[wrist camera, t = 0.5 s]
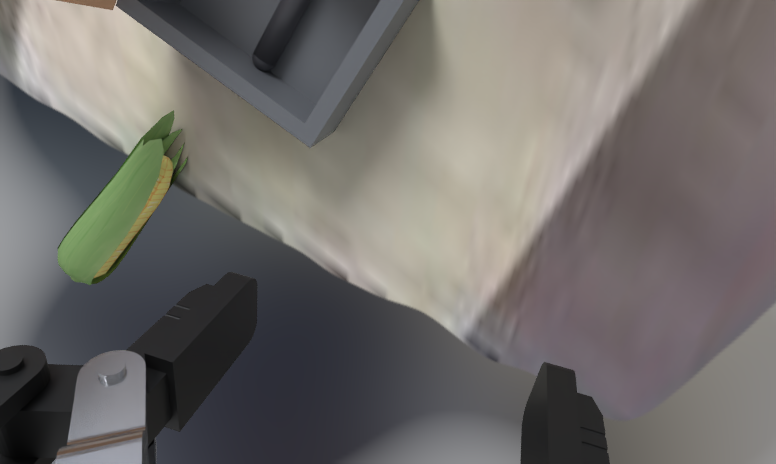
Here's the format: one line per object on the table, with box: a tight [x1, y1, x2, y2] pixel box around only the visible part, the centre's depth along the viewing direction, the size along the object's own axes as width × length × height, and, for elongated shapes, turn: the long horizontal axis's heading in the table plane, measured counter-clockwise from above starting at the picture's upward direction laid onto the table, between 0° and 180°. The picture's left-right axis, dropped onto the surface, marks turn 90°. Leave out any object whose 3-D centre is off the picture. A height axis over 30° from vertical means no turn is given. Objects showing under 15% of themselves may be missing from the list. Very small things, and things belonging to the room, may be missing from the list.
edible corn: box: [58, 111, 188, 285], centre depth 44 cm, size 5×20×5 cm
